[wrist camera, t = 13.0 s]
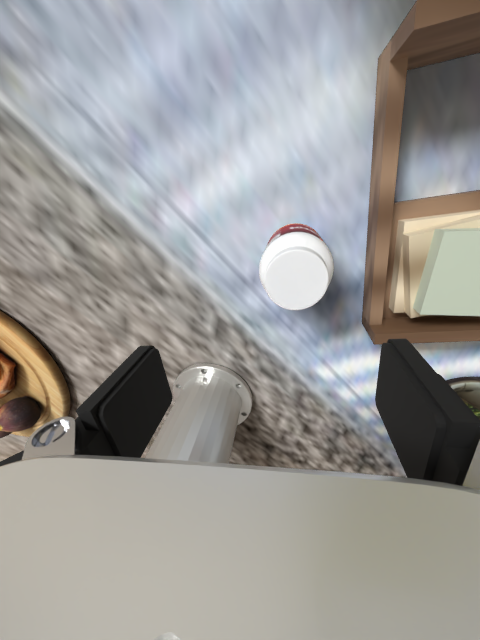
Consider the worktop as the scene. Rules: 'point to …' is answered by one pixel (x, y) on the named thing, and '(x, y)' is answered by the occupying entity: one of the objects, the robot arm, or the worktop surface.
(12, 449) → the worktop surface
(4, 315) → the wooden plate with food
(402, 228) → the birch offcut
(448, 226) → the ash offcut
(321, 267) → the pill bottle
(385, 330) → the walnut rack
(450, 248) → the sage painted offcut
